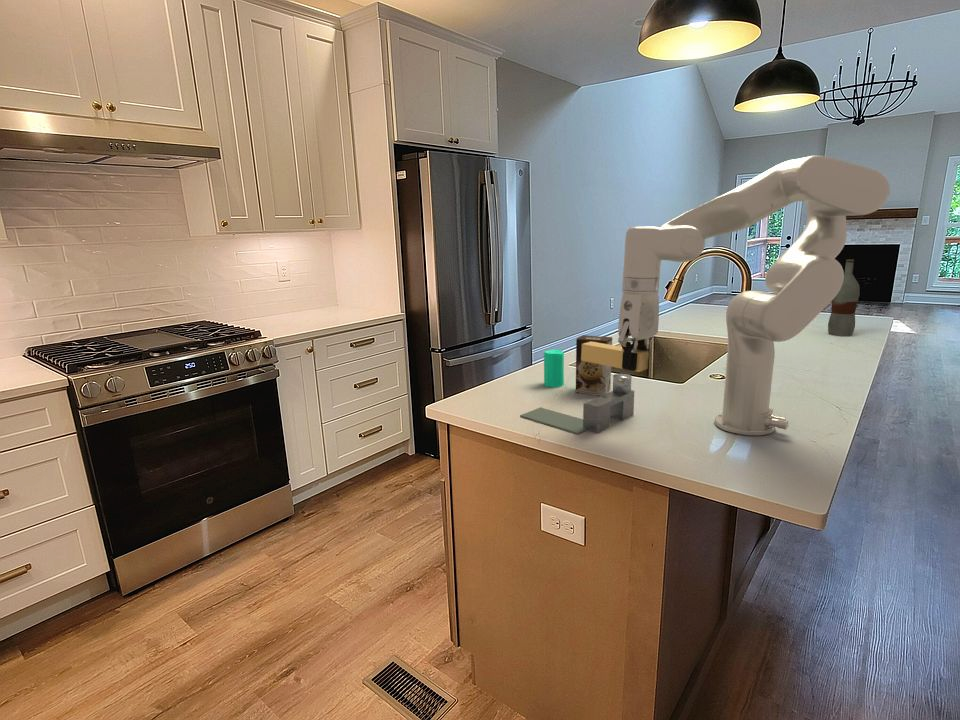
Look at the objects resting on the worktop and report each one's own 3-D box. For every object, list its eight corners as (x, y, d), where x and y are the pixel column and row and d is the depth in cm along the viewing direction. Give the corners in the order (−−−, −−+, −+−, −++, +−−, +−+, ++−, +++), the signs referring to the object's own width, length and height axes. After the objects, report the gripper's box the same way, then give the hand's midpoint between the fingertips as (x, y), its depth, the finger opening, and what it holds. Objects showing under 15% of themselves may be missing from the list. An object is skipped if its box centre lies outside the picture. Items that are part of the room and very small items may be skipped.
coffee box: (574, 392, 151) (575, 338, 147) (581, 386, 156) (581, 334, 152) (605, 396, 146) (607, 340, 142) (611, 389, 152) (612, 336, 148)
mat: (597, 424, 126) (597, 423, 126) (577, 434, 120) (577, 432, 120) (540, 408, 138) (540, 407, 138) (520, 416, 133) (520, 415, 133)
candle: (548, 388, 156) (548, 349, 153) (541, 383, 161) (540, 345, 158) (566, 386, 157) (567, 347, 154) (558, 381, 163) (558, 343, 160)
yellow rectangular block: (647, 368, 116) (649, 351, 115) (638, 372, 113) (640, 354, 112) (590, 357, 126) (591, 341, 125) (581, 360, 123) (581, 343, 122)
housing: (634, 415, 131) (635, 375, 128) (598, 433, 120) (598, 390, 118) (618, 411, 134) (620, 372, 132) (582, 428, 124) (582, 386, 121)
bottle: (822, 332, 216) (831, 259, 209) (846, 332, 215) (856, 258, 207) (833, 336, 207) (843, 260, 200) (858, 336, 206) (869, 260, 198)
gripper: (637, 290, 103) (630, 378, 107) (674, 284, 114) (667, 364, 119) (604, 287, 108) (599, 371, 112) (643, 281, 120) (637, 358, 124)
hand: (634, 366), depth 116 cm, fingers closed on yellow rectangular block, 4 cm apart
